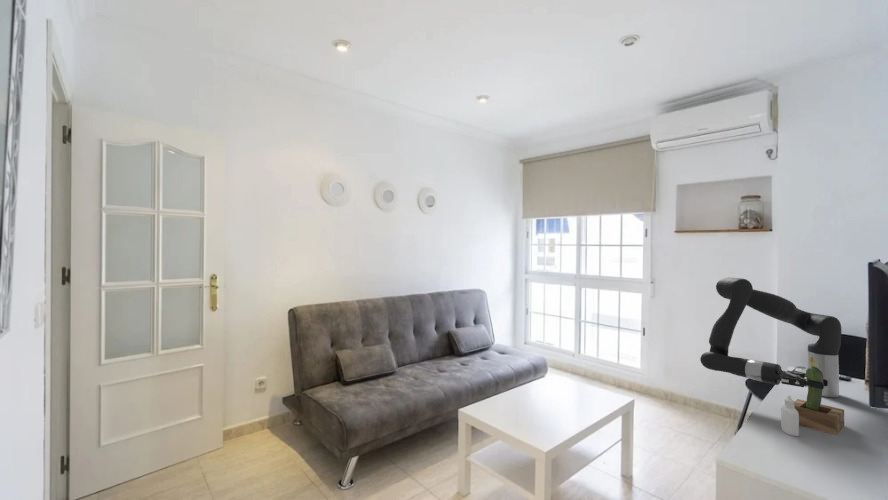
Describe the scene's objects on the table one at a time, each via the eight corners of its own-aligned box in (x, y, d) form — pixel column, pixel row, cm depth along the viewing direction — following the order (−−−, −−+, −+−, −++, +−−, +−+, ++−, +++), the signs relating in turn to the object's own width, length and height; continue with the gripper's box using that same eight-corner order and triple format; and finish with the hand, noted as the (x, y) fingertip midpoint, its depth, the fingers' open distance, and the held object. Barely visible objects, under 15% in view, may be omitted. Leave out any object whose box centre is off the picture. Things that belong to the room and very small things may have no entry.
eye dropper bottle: (799, 431, 127) (798, 395, 127) (799, 437, 123) (798, 400, 123) (781, 427, 130) (780, 392, 130) (780, 433, 126) (780, 396, 126)
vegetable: (815, 411, 135) (816, 355, 135) (826, 417, 130) (827, 358, 131) (802, 411, 135) (802, 354, 135) (812, 416, 131) (813, 358, 131)
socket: (797, 413, 141) (797, 398, 141) (844, 425, 131) (844, 409, 131) (787, 421, 134) (787, 406, 134) (835, 435, 124) (835, 418, 124)
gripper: (756, 364, 141) (820, 377, 127) (769, 358, 149) (831, 370, 135) (756, 385, 141) (820, 400, 127) (769, 378, 149) (831, 391, 135)
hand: (825, 384), depth 131 cm, fingers closed on vegetable, 4 cm apart
